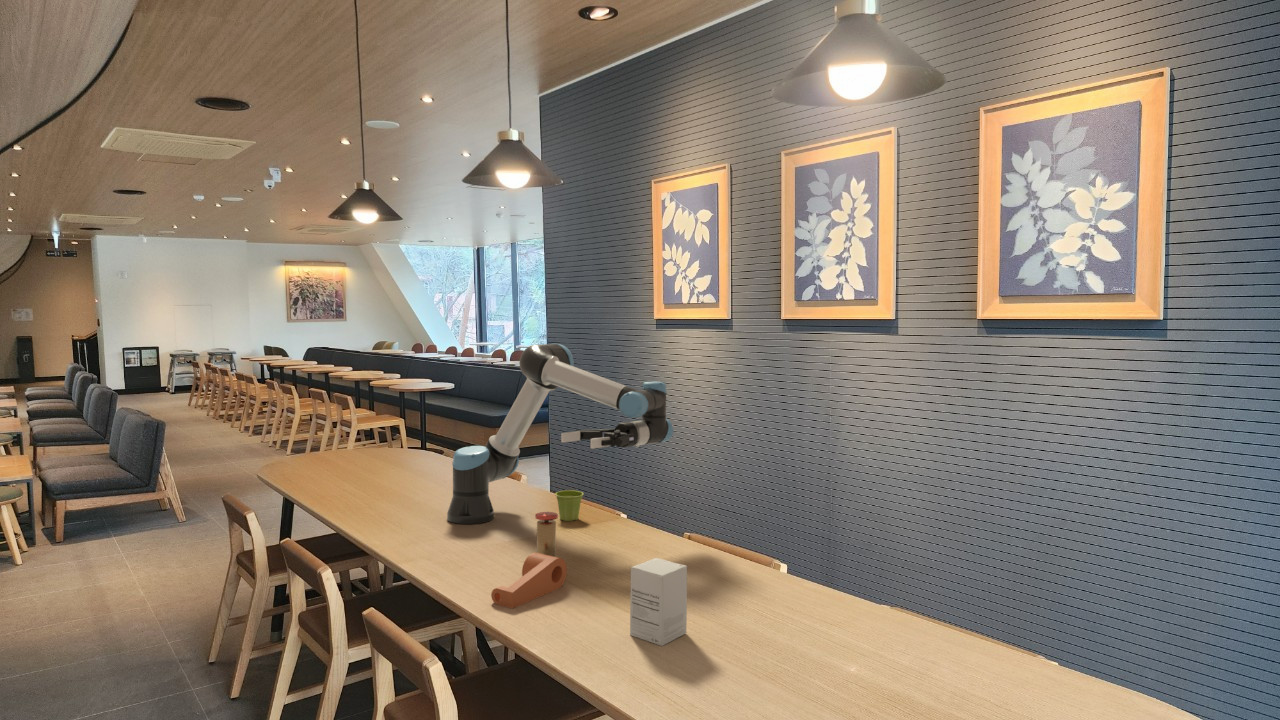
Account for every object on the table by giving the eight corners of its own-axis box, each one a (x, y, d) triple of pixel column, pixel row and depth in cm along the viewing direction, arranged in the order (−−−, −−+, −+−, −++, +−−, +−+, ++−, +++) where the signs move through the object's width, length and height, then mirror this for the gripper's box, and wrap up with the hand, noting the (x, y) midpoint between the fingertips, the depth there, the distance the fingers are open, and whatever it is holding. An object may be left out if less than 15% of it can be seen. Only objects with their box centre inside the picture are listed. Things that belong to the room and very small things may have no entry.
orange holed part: (542, 579, 202) (543, 549, 201) (566, 585, 197) (567, 554, 197) (487, 602, 185) (487, 569, 184) (512, 609, 181) (512, 575, 180)
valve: (529, 564, 212) (530, 514, 211) (548, 560, 217) (549, 510, 216) (543, 570, 208) (544, 518, 207) (562, 566, 212) (563, 515, 211)
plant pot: (581, 523, 257) (582, 496, 256) (553, 522, 257) (553, 496, 256) (584, 515, 266) (584, 490, 266) (556, 515, 266) (557, 490, 266)
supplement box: (654, 622, 173) (655, 556, 173) (687, 633, 168) (688, 565, 167) (628, 635, 166) (629, 566, 166) (661, 647, 161) (662, 575, 160)
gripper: (659, 451, 230) (604, 459, 216) (604, 441, 248) (550, 447, 234) (659, 426, 230) (604, 432, 215) (604, 417, 248) (550, 423, 234)
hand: (576, 440), depth 225 cm, fingers open, 13 cm apart
